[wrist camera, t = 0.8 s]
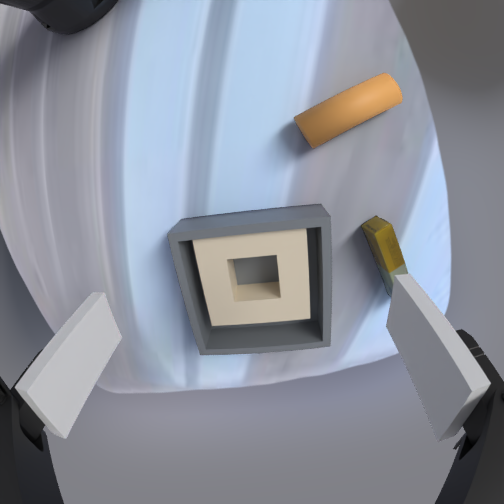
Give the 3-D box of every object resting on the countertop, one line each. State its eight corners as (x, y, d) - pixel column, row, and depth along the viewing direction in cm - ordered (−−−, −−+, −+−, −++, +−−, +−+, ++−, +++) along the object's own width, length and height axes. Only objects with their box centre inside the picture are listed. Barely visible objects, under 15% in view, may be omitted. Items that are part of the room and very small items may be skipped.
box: (181, 219, 35) (167, 233, 30) (321, 203, 33) (330, 216, 28) (207, 330, 41) (200, 355, 36) (324, 321, 39) (330, 346, 34)
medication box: (403, 285, 37) (416, 299, 33) (387, 295, 37) (400, 309, 34) (377, 214, 33) (392, 223, 29) (359, 224, 33) (373, 234, 30)
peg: (291, 111, 27) (382, 66, 24) (297, 126, 31) (379, 84, 28) (312, 140, 26) (405, 92, 23) (315, 153, 30) (399, 109, 27)
